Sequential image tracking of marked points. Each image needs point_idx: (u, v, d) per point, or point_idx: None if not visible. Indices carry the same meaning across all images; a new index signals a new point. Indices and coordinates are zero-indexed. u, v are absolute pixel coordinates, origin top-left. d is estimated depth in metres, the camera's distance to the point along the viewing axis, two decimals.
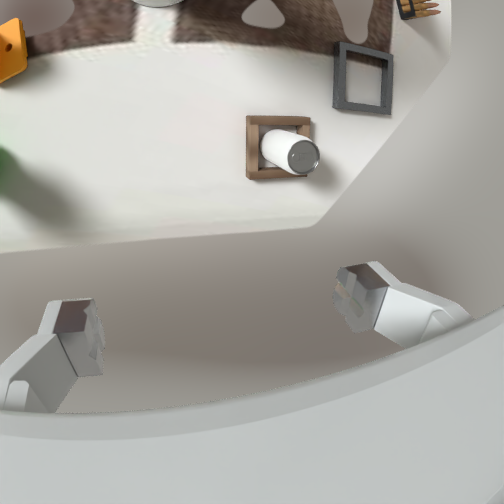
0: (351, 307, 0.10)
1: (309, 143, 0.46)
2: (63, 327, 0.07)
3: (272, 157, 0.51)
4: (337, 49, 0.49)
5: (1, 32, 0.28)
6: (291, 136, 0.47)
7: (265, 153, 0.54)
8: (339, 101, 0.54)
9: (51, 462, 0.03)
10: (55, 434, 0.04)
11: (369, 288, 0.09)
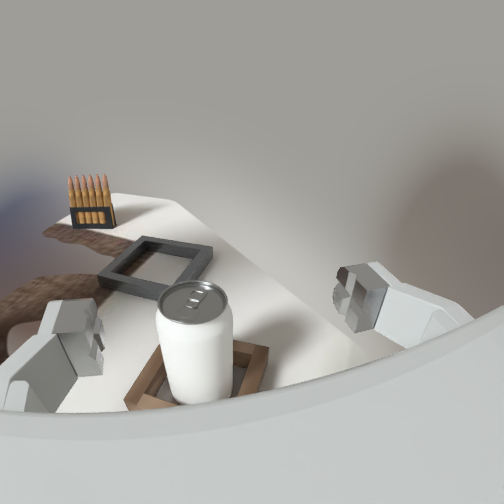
0: (351, 307, 0.10)
1: (173, 291, 0.26)
2: (63, 327, 0.07)
3: (195, 375, 0.25)
4: (106, 281, 0.44)
5: None
6: None
7: (197, 397, 0.26)
8: None
9: (51, 462, 0.03)
10: (55, 434, 0.04)
11: (369, 288, 0.09)
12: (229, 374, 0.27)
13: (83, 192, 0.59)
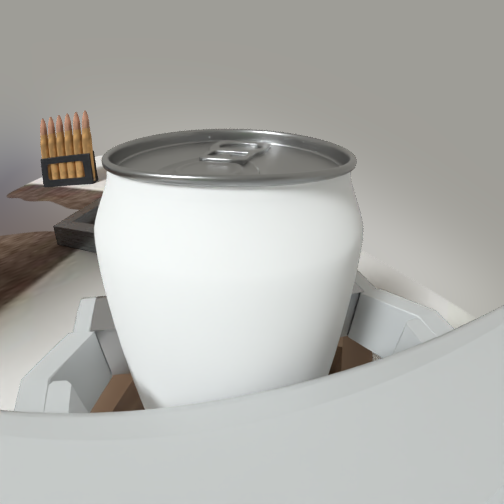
0: None
1: (165, 147, 0.08)
2: (100, 323, 0.07)
3: None
4: (65, 235, 0.26)
5: None
6: None
7: None
8: None
9: (51, 462, 0.03)
10: (55, 434, 0.04)
11: None
12: None
13: (57, 137, 0.41)
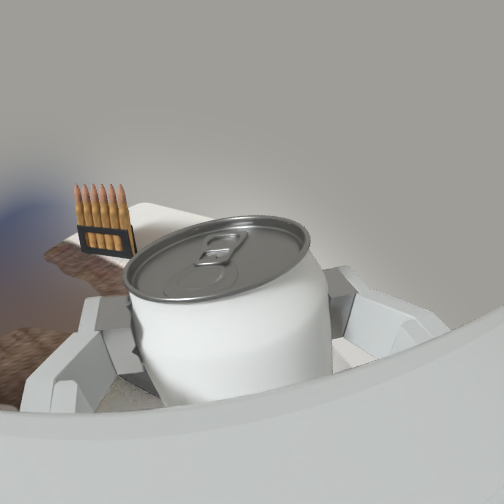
0: None
1: (165, 249, 0.11)
2: (106, 323, 0.07)
3: None
4: None
5: None
6: None
7: None
8: None
9: (51, 462, 0.03)
10: (55, 434, 0.04)
11: (334, 295, 0.09)
12: None
13: (93, 207, 0.44)
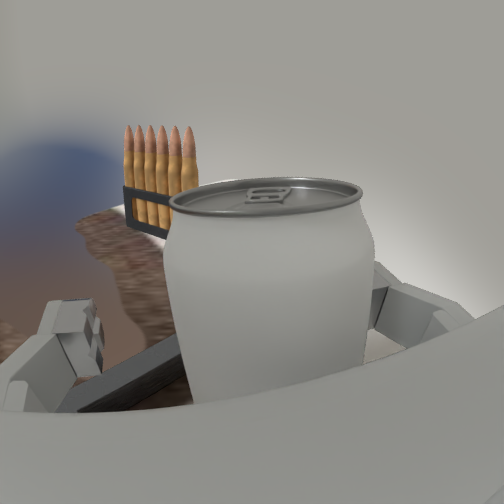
0: None
1: (205, 197, 0.11)
2: (62, 327, 0.07)
3: None
4: None
5: None
6: None
7: None
8: None
9: (51, 462, 0.03)
10: (55, 434, 0.04)
11: None
12: None
13: (146, 160, 0.30)
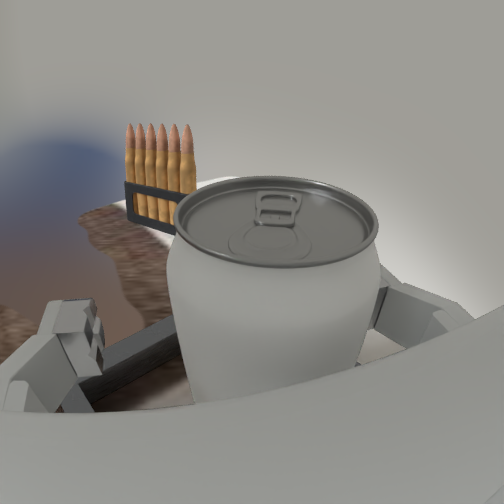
0: None
1: (211, 199, 0.10)
2: (62, 327, 0.07)
3: None
4: None
5: None
6: None
7: None
8: None
9: (51, 462, 0.03)
10: (55, 434, 0.04)
11: None
12: None
13: (146, 157, 0.32)
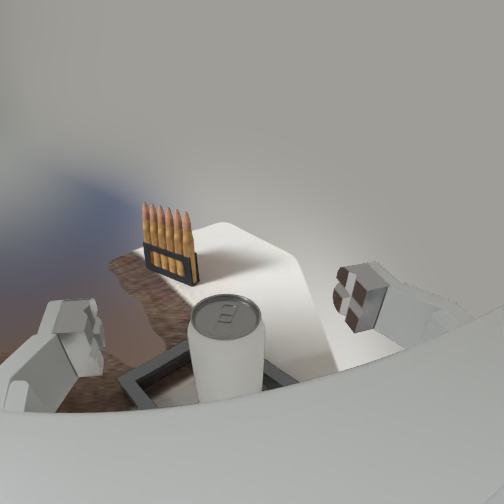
0: (351, 307, 0.10)
1: (203, 306, 0.26)
2: (62, 326, 0.07)
3: (231, 388, 0.24)
4: (125, 392, 0.29)
5: None
6: (188, 340, 0.25)
7: None
8: None
9: (51, 462, 0.03)
10: (55, 434, 0.04)
11: (369, 288, 0.09)
12: (261, 384, 0.27)
13: (159, 228, 0.47)
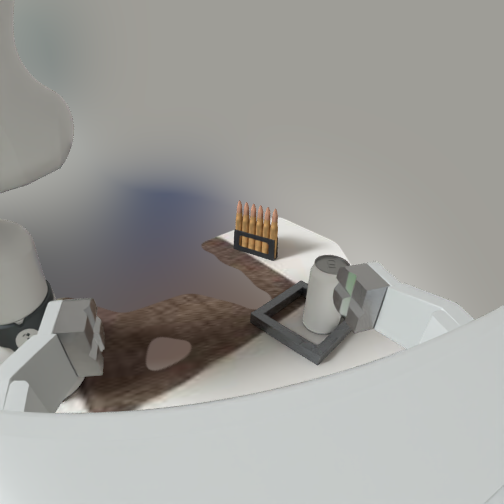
0: (351, 307, 0.10)
1: (318, 261, 0.49)
2: (62, 326, 0.07)
3: (333, 305, 0.47)
4: (257, 321, 0.51)
5: None
6: (311, 279, 0.48)
7: (329, 322, 0.49)
8: (313, 350, 0.45)
9: (51, 462, 0.03)
10: (55, 434, 0.04)
11: (369, 288, 0.09)
12: None
13: (251, 220, 0.70)
